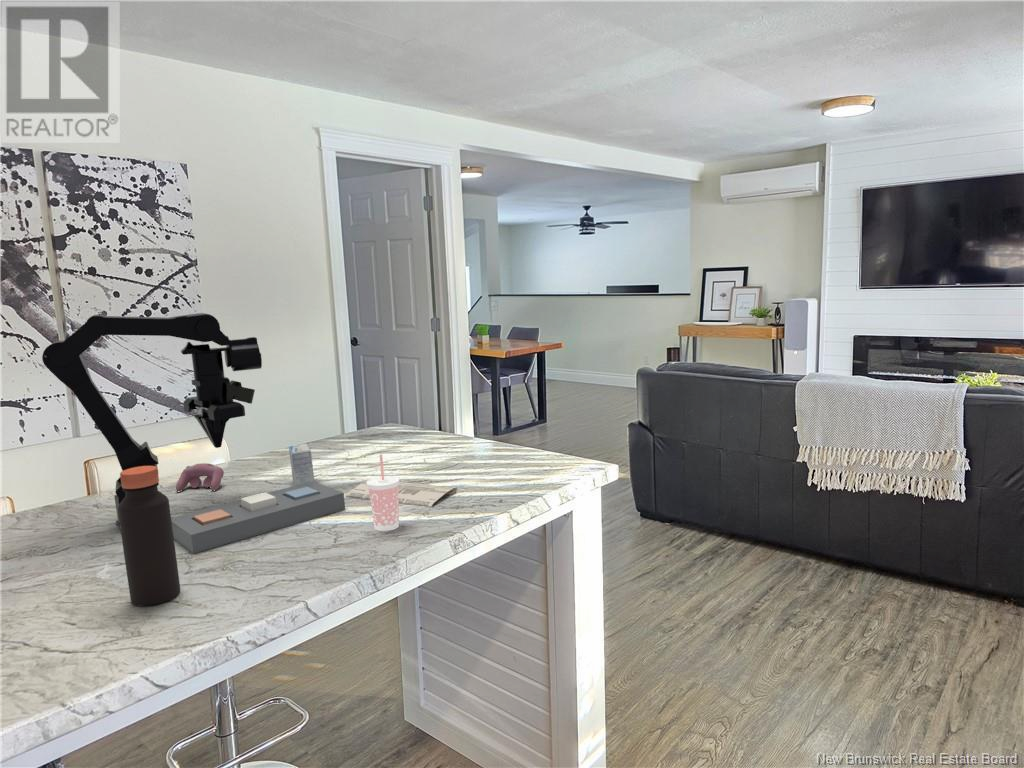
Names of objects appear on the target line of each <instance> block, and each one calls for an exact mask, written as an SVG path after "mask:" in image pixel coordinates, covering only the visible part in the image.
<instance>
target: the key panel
mask: <svg viewBox="0 0 1024 768" xmlns="http://www.w3.org/2000/svg"><path fill="white" fill-rule="evenodd" d="M304 487H309V488H312V489H314V490H317V491H318V492H319V494H316V495H313V496H309V497H305V498H301V499H298V500H293V499H291V498H289V497H286V496H285V492H288V491H292V490H296V489H300V488H304ZM267 493H268V494H270V495H272V496H274V497H276V503H277V505H276V506H272V507H268V508H264V509H261V510H257V511H253V512H249V511H247V510H245V509H243V508H242V507H241V499H239V500H235V501H231V502H227V503H224V504H220V505H216V506H212V507H207V508H204V509H200V510H199V509H198V510H196V511H192V512H187V513H185V514H184V513H183V514H179V515H177V516H176V515H175V516H171V521H172V529H173V536H174V541H175V540H176V541H175V542H177V543H178V544H179V543H180V544H179V545H181V546H182V547H184V548H185V549H186V550H188V551H189V552H191V554H193V555H194V554H198V553H201V552H204V551H208V550H211V549H215V548H218V547H219V548H220V547H222V546H225V544H226V545H228V543H229V544H232V543H236V542H238V541H242V540H245V539H249V538H252V537H255V536H259V535H262V534H265V533H269V532H272V531H275V530H280V529H283V528H286V527H290V526H293V525H296V524H300V523H303V522H307V521H309V520H313V519H316V518H320V517H323V516H326V515H330V514H333V513H337V512H339V511H344V510H346V504H345V495H344V492H343V491H340V490H337V489H334V488H332V487H329V486H327V485H325V484H322V483H319V482H316V481H315V480H314V481H312V482H309V483H305V484H301V485H297V486H295V485H293V486H290V487H287V488H281V489H278V490H274V491H270V492H267ZM219 509H221V510H223V511H225V512H226V513H228V514H230V515H231V518H227V519H224V520H220V521H216V522H213V523H209V524H205V525H201V524H199V523H197V522H196V521H194V516H196V515H200V514H204V513H208V512H212V511H215V510H219ZM231 542H232V543H231Z"/></svg>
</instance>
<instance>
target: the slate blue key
mask: <svg viewBox="0 0 1024 768" xmlns="http://www.w3.org/2000/svg"><path fill="white" fill-rule="evenodd" d="M316 494H319V492H318V491H317V490H314V489H312V488H309V487H304V488H300V489H296V490H292V491H288V492H285V496H286V497H289V498H291V499H293V500H298V499H301V498H305V497H309V496H313V495H316Z"/></svg>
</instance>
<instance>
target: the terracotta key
mask: <svg viewBox="0 0 1024 768" xmlns="http://www.w3.org/2000/svg"><path fill="white" fill-rule="evenodd" d="M227 518H231V515H230V514H228V513H226V512H225V511H223V510H221V509H219V510H215V511H212V512H208V513H204V514H200V515H196V516H194V521H196V522H197V523H199V524H201V525H205V524H209V523H213V522H216V521H220V520H224V519H227Z"/></svg>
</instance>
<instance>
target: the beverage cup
mask: <svg viewBox="0 0 1024 768" xmlns="http://www.w3.org/2000/svg"><path fill="white" fill-rule="evenodd" d="M379 462H380V463H379V465H380V474H381V476H378V477H372V478H370V480H369V479H368V481H367V480H366V481H367V488H369V495H370V500H369V501H370V507H371V514H372V521H373V527H374V530H375V531H379V532H389V531H392V530H396V529H397V528H399V526H400V521H399V519H400V518H399V517H400V512H399V502H398V485H399V482H400V478H399V477H398V476H392V475H385V473H384V460H383V454H379Z"/></svg>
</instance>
